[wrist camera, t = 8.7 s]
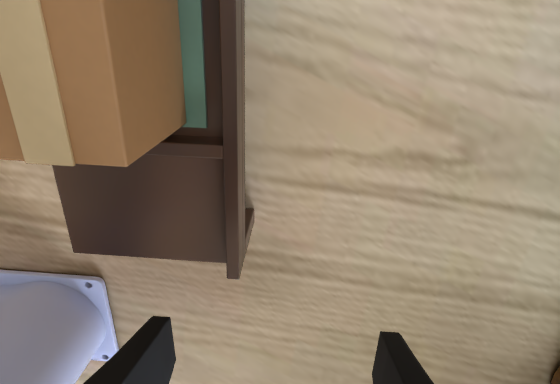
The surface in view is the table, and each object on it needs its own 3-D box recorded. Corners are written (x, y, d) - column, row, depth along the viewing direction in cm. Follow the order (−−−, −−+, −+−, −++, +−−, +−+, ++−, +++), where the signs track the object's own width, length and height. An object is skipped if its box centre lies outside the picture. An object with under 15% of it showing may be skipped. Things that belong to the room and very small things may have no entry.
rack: (115, 213, 22) (58, 266, 17) (38, -222, 14) (-116, -373, 9) (254, 222, 22) (239, 279, 17) (258, -220, 14) (231, -375, 9)
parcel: (86, 118, 15) (-26, 160, 10) (57, -32, 13) (-108, -79, 8) (187, 123, 15) (125, 169, 10) (176, -28, 13) (88, -73, 7)
